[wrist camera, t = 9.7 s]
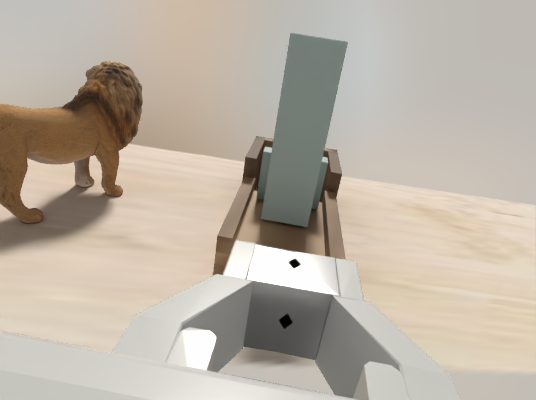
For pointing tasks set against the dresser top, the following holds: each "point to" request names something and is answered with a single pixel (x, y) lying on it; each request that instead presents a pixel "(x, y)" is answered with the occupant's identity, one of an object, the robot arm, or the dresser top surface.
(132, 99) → the lion figurine
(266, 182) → the grey-green l-shaped block
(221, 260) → the lane
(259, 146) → the dark brown open box
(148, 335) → the robot arm
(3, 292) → the dresser top surface
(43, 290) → the dresser top surface
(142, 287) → the dresser top surface
